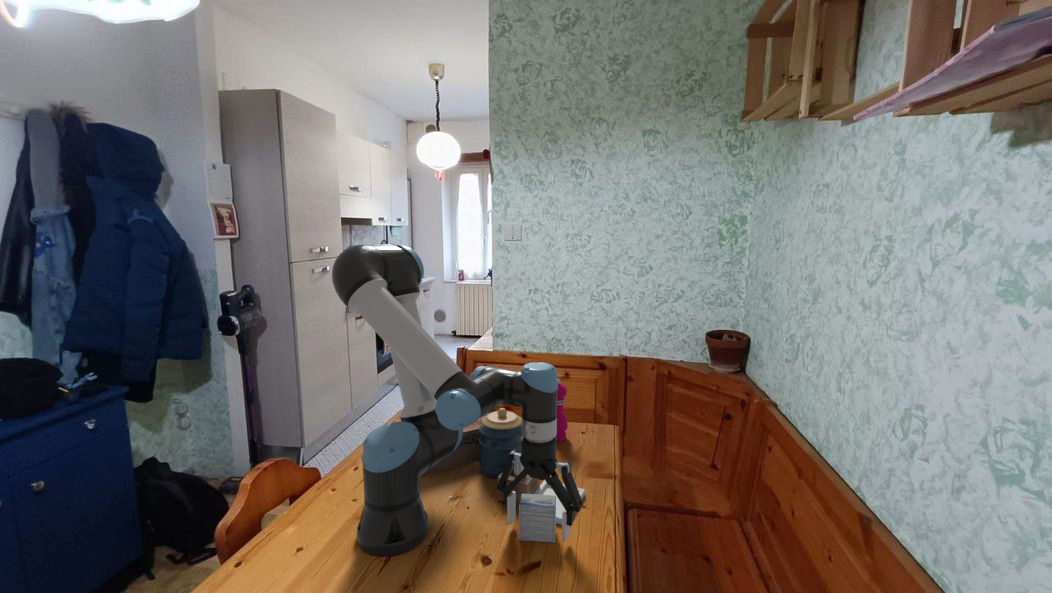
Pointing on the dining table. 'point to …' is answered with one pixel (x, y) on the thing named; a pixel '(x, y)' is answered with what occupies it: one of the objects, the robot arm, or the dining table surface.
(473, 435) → the tissue box cover
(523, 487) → the square hollow frame
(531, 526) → the medicine box
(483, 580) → the dining table surface
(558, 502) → the tray
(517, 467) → the pin
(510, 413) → the canister
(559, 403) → the pepper mill
